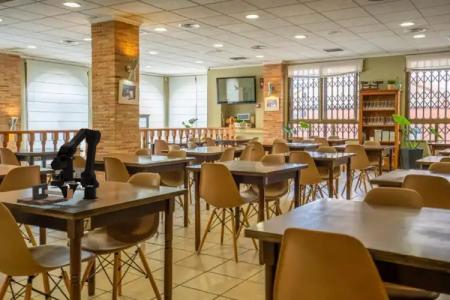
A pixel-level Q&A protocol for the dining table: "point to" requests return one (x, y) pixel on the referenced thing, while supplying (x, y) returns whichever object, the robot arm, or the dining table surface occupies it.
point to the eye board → (42, 200)
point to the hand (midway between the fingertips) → (68, 197)
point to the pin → (60, 193)
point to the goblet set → (78, 170)
